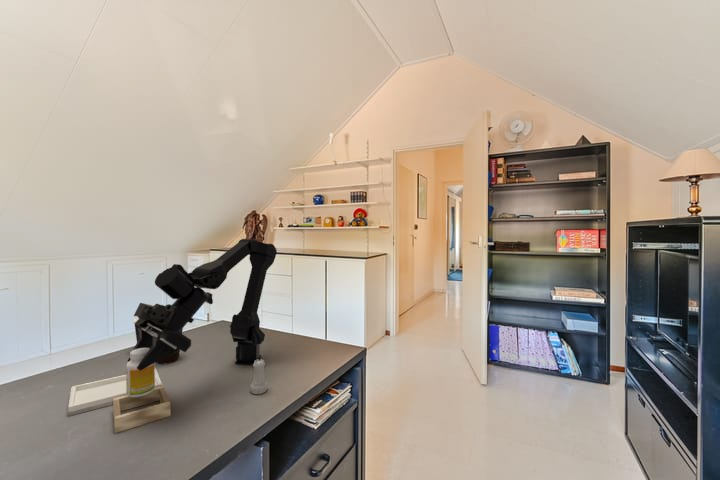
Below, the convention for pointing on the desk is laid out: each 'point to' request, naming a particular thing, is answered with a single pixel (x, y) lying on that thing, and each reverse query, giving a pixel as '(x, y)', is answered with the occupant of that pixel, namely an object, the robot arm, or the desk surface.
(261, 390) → the rook chess piece
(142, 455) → the desk surface
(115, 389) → the tray
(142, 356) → the supplement bottle
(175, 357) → the brown paper tapered cylinder
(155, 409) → the holder sleeve
